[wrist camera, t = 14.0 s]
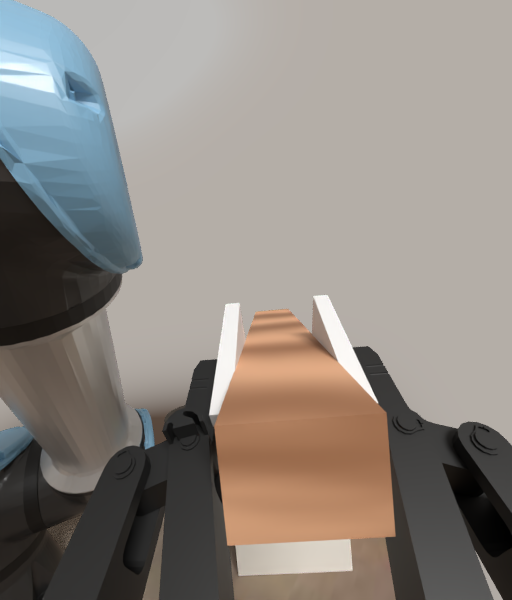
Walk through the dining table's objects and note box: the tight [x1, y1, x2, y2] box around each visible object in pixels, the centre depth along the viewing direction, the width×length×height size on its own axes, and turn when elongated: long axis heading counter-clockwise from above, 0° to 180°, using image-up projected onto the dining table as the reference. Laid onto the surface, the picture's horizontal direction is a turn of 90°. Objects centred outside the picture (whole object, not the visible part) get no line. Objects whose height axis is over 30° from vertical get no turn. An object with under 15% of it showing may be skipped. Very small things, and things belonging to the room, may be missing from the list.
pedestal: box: [235, 339, 353, 576], centre depth 44 cm, size 18×16×30 cm
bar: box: [214, 309, 396, 546], centre depth 19 cm, size 26×4×3 cm, turn 178°
